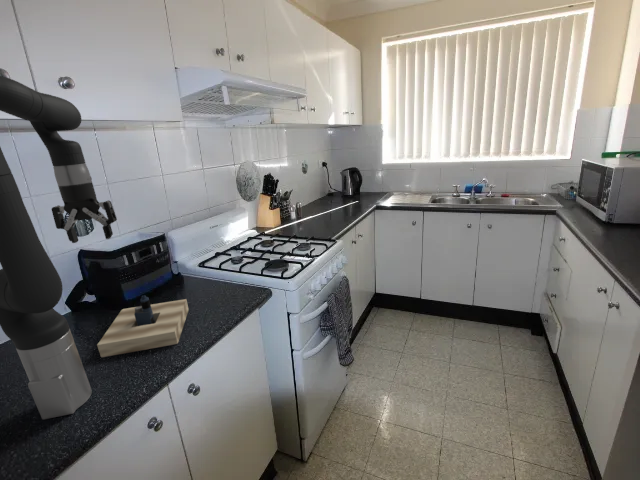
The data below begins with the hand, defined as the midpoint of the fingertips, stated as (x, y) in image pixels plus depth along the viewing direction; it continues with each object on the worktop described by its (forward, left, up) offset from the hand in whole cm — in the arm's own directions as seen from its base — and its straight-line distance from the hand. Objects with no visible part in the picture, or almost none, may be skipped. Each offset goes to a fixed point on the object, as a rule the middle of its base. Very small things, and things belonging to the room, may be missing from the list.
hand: (92, 240), depth 94 cm
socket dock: (-2, -9, -30) cm, 31 cm away
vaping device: (-2, -9, -30) cm, 32 cm away
